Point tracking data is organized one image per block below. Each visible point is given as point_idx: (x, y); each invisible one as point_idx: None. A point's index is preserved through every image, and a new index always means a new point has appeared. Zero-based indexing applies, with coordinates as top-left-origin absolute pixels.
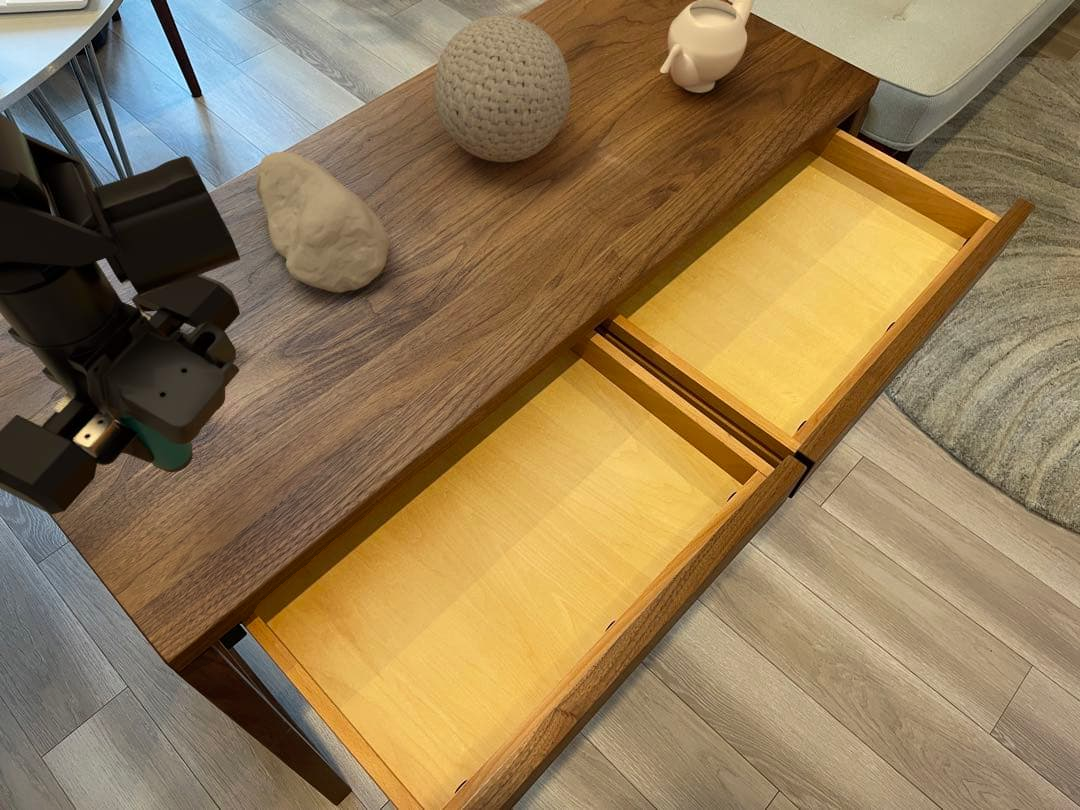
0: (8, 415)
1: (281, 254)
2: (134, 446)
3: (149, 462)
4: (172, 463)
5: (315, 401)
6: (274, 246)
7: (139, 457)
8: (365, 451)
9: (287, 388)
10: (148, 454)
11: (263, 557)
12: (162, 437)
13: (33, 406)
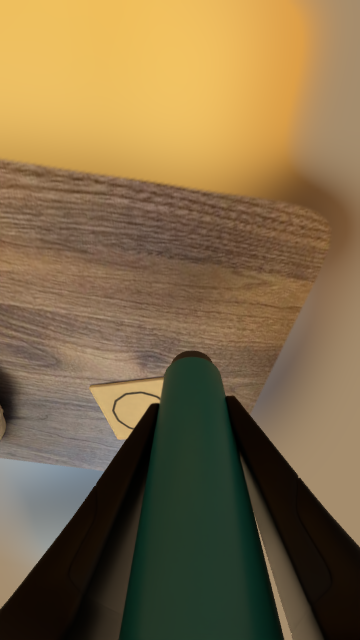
0: None
1: (2, 422)
2: (295, 512)
3: (237, 400)
4: (208, 369)
5: (57, 310)
6: (1, 431)
7: (268, 440)
8: (43, 221)
9: (72, 338)
10: (238, 420)
11: (207, 218)
12: (204, 442)
13: None
